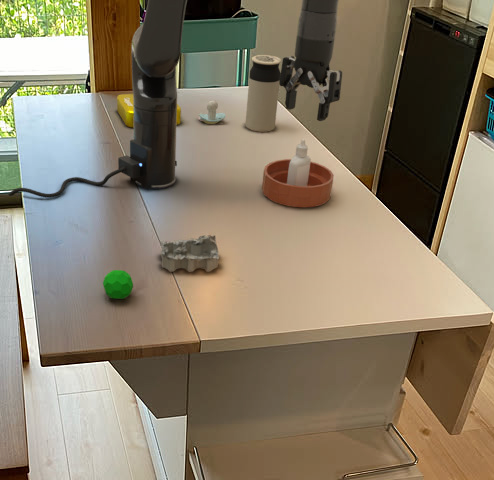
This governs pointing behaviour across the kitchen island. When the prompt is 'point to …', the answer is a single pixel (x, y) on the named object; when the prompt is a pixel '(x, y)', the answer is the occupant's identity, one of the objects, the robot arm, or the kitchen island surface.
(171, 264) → the egg carton
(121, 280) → the polyhedron
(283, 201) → the bowl
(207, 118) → the pacifier
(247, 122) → the travel mug
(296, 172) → the eye dropper bottle
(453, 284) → the kitchen island surface
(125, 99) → the element tile
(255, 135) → the kitchen island surface
